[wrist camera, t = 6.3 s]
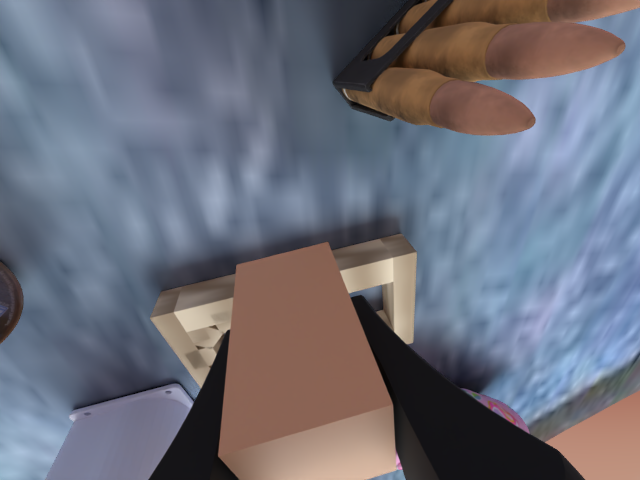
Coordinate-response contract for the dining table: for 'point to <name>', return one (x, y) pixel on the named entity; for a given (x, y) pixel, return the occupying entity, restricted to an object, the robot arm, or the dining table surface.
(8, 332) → the tin
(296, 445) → the peg
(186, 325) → the socket plate
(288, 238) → the dining table surface
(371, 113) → the ammunition clip
